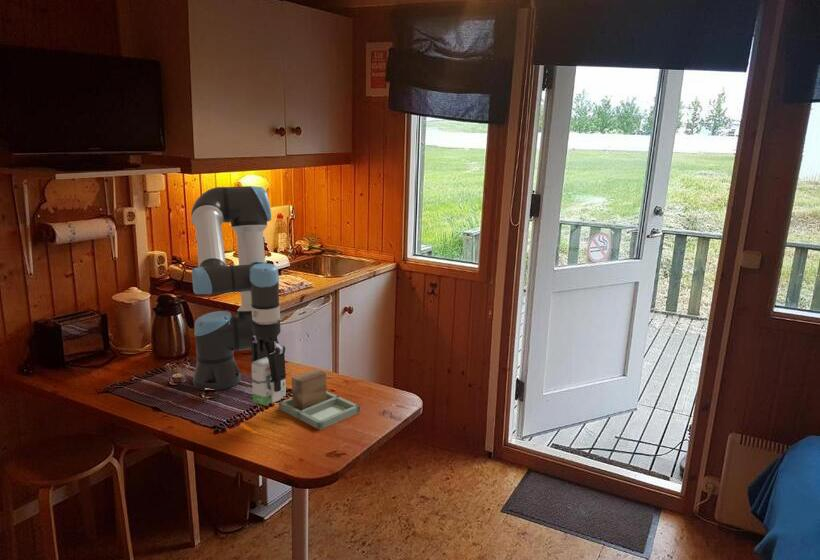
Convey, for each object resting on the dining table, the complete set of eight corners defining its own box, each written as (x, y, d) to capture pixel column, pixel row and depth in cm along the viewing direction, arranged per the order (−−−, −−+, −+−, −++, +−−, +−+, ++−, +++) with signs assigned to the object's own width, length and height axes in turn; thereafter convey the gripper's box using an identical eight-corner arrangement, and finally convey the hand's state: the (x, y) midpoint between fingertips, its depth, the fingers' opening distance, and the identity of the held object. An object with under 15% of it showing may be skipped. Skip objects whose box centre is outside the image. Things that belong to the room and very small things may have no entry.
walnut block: (292, 408, 181) (291, 377, 179) (316, 398, 187) (315, 368, 185) (303, 413, 178) (302, 381, 175) (326, 403, 184) (325, 373, 182)
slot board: (279, 411, 181) (278, 402, 180) (318, 395, 192) (318, 387, 191) (320, 432, 168) (319, 423, 167) (360, 414, 179) (359, 405, 178)
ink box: (264, 406, 167) (262, 367, 164) (252, 401, 169) (250, 362, 166) (286, 395, 174) (285, 357, 171) (274, 390, 176) (273, 353, 173)
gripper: (235, 315, 169) (240, 391, 175) (274, 332, 157) (278, 412, 163) (258, 309, 174) (262, 383, 180) (297, 325, 162) (300, 403, 168)
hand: (269, 397), depth 171 cm, fingers closed on ink box, 5 cm apart
